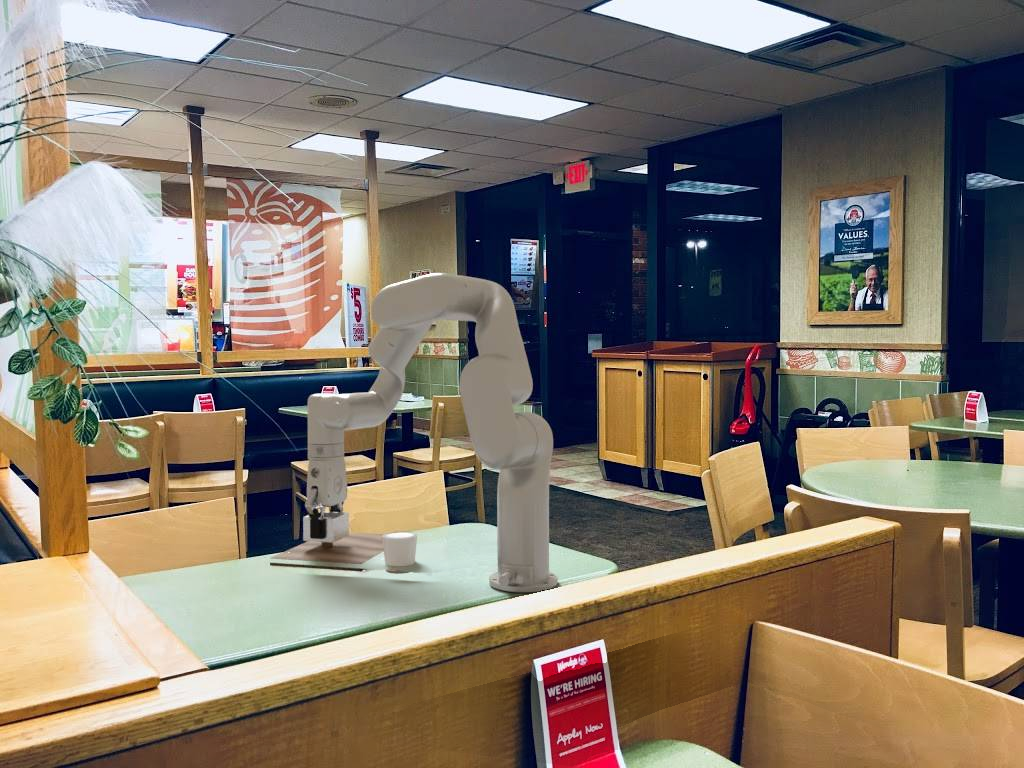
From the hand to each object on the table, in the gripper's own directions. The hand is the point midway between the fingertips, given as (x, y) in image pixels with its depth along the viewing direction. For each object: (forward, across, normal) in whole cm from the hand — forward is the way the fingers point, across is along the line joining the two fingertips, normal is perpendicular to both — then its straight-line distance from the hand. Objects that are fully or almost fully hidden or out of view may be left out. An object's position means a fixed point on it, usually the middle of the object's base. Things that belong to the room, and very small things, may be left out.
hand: (326, 533), depth 169 cm
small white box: (+1, 0, 0) cm, 1 cm away
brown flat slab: (+4, +2, -3) cm, 6 cm away
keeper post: (+3, 0, 0) cm, 3 cm away
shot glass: (+5, -8, -20) cm, 22 cm away
